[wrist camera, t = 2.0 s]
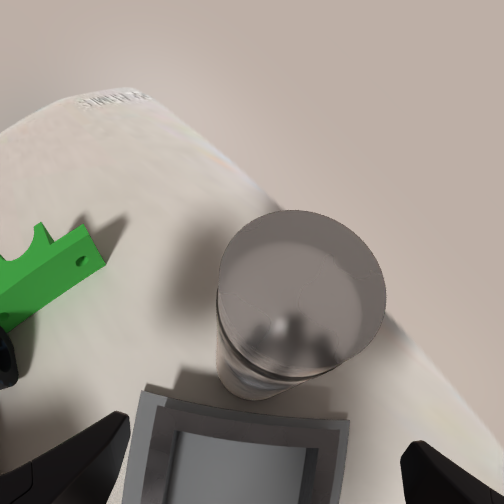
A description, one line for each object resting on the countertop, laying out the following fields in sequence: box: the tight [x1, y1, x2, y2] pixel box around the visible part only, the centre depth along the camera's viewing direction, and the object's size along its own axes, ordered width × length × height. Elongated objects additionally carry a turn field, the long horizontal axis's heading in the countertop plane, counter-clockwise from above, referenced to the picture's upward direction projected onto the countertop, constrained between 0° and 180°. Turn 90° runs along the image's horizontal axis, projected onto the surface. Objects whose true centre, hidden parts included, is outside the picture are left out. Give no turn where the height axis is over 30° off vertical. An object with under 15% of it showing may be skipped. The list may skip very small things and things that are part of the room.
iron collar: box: [140, 405, 340, 504], centre depth 13 cm, size 11×11×2 cm
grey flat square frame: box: [122, 390, 350, 504], centre depth 15 cm, size 12×14×1 cm
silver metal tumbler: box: [216, 210, 386, 401], centre depth 14 cm, size 5×5×13 cm
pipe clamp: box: [0, 222, 106, 333], centre depth 19 cm, size 11×4×5 cm, turn 131°
